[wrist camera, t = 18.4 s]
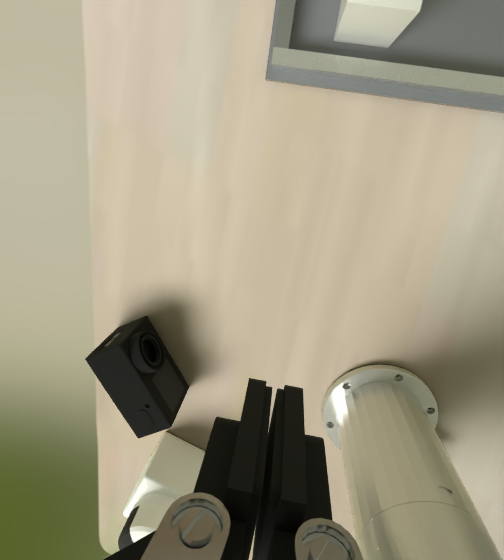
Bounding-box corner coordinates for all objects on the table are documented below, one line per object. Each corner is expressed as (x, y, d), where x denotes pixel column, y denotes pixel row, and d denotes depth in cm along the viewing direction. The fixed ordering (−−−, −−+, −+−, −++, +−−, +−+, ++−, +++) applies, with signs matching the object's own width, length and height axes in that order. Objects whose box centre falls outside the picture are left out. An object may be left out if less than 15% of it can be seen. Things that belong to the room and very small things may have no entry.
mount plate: (593, -94, 26) (599, -99, 26) (519, 115, 31) (523, 114, 30) (293, -125, 28) (293, -131, 27) (265, 80, 32) (265, 78, 32)
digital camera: (198, 384, 43) (182, 425, 37) (160, 398, 45) (138, 440, 38) (155, 311, 41) (129, 340, 34) (116, 328, 42) (84, 359, 35)
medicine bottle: (192, 490, 49) (162, 590, 37) (144, 466, 48) (99, 560, 37) (215, 454, 46) (190, 550, 35) (165, 429, 46) (124, 518, 35)
